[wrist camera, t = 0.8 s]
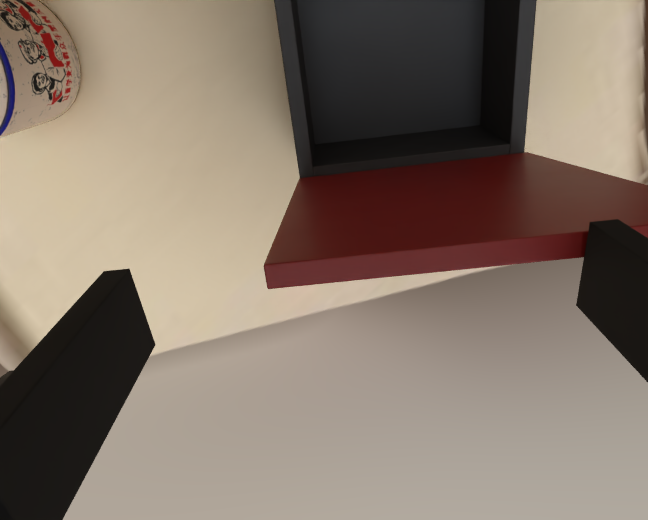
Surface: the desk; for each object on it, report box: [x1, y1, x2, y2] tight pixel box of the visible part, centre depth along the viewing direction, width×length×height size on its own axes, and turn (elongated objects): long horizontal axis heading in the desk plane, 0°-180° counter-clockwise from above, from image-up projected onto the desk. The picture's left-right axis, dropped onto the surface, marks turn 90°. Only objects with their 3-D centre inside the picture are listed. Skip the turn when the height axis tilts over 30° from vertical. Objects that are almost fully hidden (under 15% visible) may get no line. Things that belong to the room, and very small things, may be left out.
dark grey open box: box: [274, 0, 536, 178], centre depth 28 cm, size 15×14×7 cm
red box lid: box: [264, 152, 648, 289], centre depth 21 cm, size 16×14×1 cm
